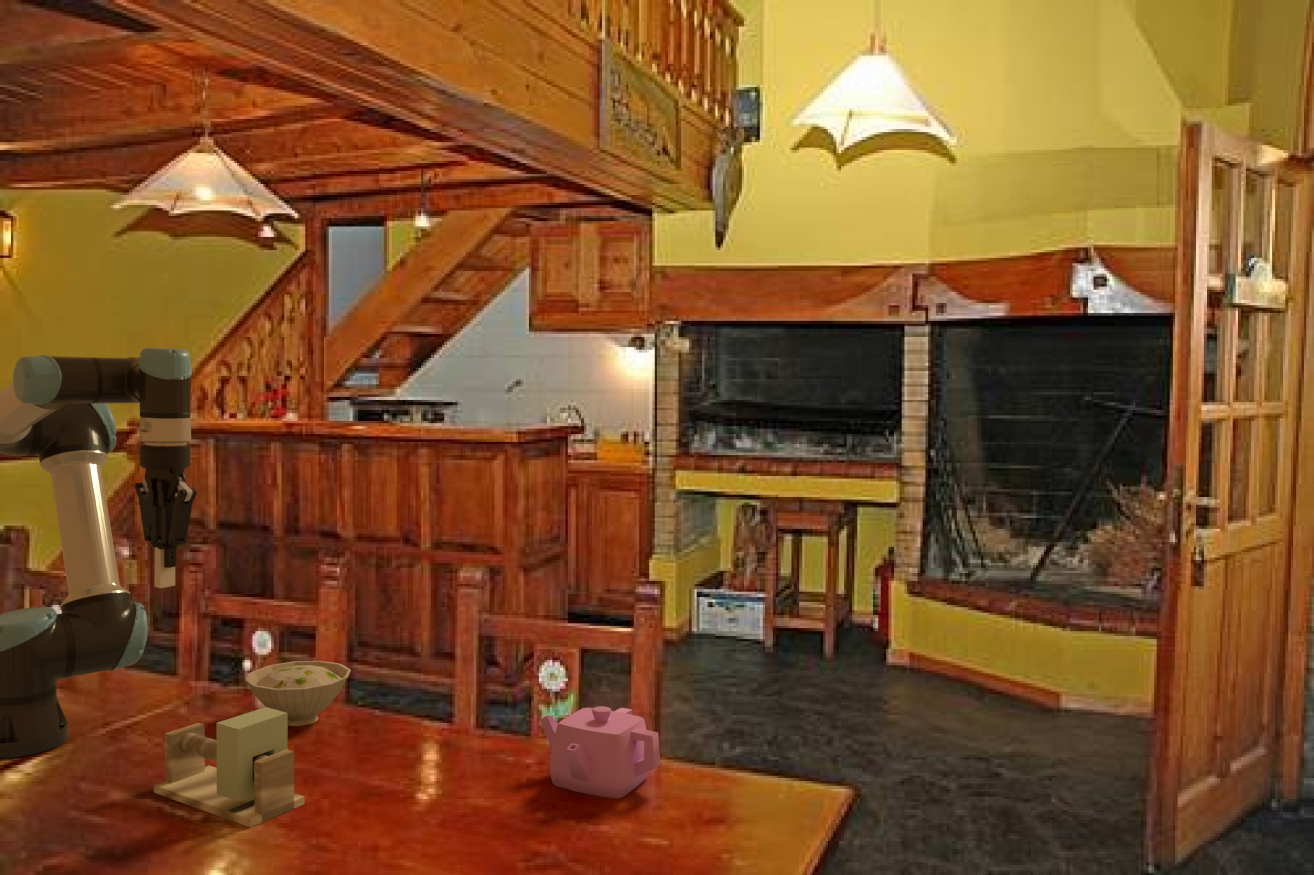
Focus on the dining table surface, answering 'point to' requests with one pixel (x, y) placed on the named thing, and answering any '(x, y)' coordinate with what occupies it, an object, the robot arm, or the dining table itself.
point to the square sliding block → (247, 748)
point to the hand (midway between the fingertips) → (164, 586)
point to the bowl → (298, 688)
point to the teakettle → (601, 751)
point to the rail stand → (199, 783)
